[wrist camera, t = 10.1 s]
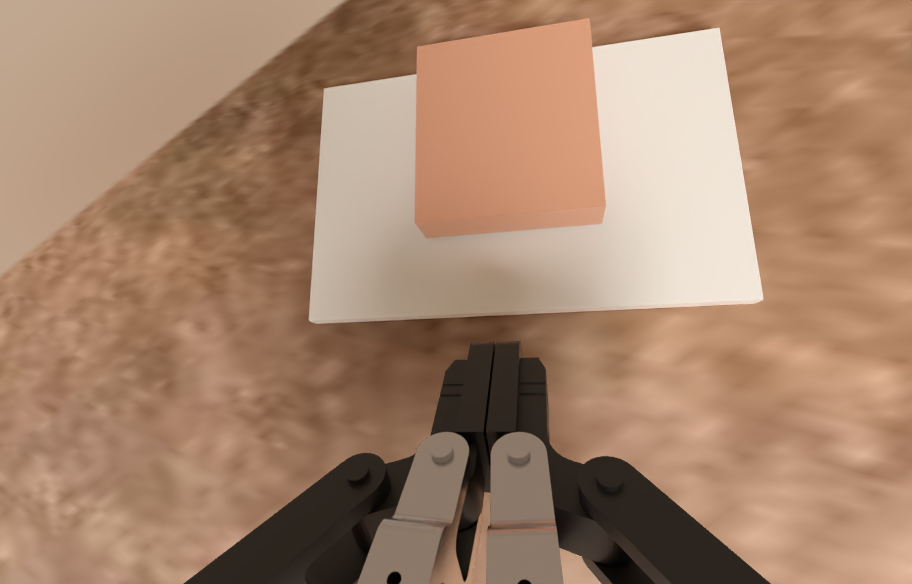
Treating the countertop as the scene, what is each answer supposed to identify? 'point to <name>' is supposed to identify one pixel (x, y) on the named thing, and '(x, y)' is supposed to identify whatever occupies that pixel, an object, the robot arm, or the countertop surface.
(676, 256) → the mat
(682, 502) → the countertop surface
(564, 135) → the block
